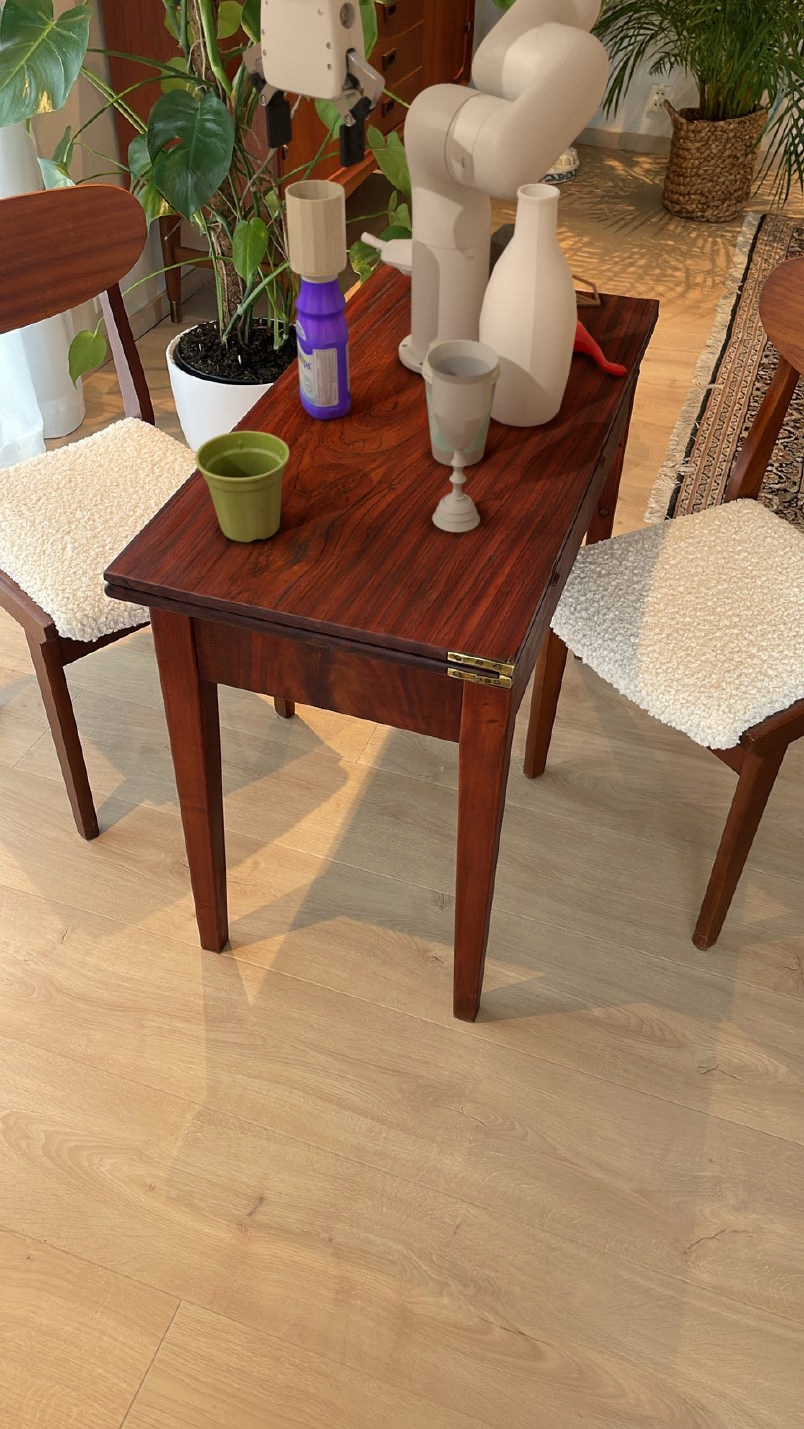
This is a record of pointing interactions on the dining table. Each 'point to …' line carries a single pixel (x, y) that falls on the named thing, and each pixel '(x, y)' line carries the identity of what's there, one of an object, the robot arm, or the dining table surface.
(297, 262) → the paper cup
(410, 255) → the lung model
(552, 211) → the bottle
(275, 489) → the plant pot
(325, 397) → the bottle
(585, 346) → the dinosaur
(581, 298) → the emblem
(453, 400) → the chalice
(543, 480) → the dining table surface
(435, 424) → the coffee cup
